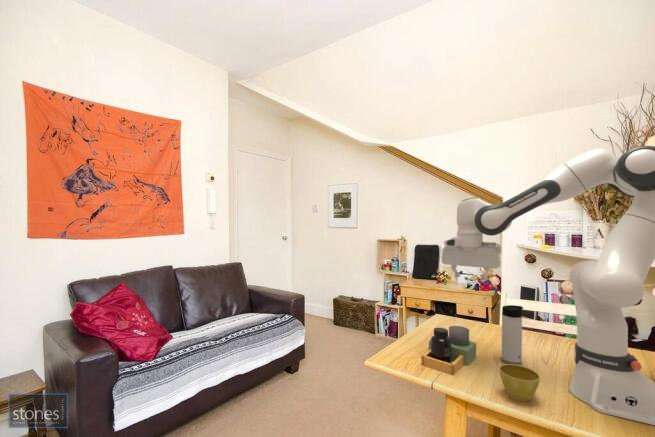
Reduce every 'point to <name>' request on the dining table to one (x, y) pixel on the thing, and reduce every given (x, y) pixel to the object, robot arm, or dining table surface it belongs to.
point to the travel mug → (512, 334)
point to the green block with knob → (461, 344)
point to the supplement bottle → (441, 345)
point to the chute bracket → (442, 363)
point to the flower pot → (519, 381)
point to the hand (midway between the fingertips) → (470, 278)
